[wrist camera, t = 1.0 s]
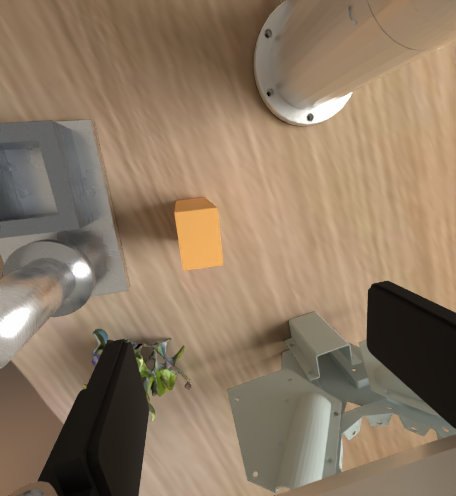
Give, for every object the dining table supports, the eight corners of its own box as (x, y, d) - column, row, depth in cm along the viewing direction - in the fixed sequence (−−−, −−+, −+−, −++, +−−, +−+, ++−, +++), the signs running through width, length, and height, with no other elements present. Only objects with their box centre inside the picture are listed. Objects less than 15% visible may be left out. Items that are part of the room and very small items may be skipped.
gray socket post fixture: (-33, 130, 25) (-333, 63, 10) (94, 122, 27) (-8, 56, 12) (27, 301, 30) (-115, 416, 16) (130, 285, 32) (88, 375, 18)
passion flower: (122, 330, 40) (61, 336, 28) (188, 311, 38) (152, 310, 27) (133, 410, 36) (68, 454, 25) (204, 392, 35) (171, 430, 24)
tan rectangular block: (176, 200, 31) (174, 212, 20) (204, 197, 31) (217, 207, 21) (181, 240, 32) (183, 270, 22) (209, 236, 32) (223, 264, 22)
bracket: (227, 381, 39) (271, 573, 20) (215, 344, 37) (253, 520, 18) (385, 325, 42) (555, 448, 23) (383, 288, 40) (568, 389, 21)
